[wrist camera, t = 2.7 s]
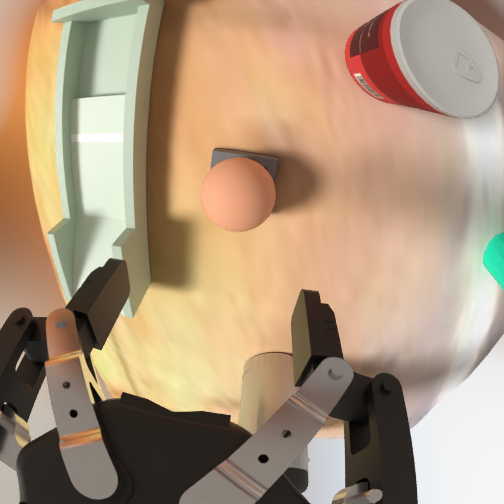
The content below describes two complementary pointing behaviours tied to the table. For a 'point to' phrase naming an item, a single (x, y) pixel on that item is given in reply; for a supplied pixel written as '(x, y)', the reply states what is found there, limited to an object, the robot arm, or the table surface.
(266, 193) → the ball
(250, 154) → the grey picture frame
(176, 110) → the table surface
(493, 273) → the candle
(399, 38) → the canned food
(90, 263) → the lane
